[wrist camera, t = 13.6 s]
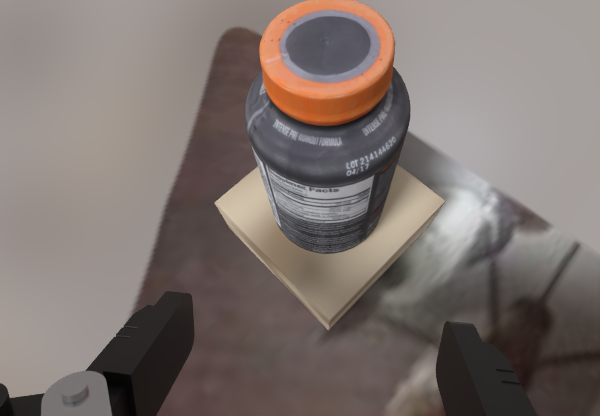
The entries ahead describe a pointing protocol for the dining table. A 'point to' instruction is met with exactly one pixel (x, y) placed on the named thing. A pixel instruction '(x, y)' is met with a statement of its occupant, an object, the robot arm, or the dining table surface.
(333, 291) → the maple block
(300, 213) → the pill bottle
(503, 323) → the dining table surface
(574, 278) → the dining table surface
